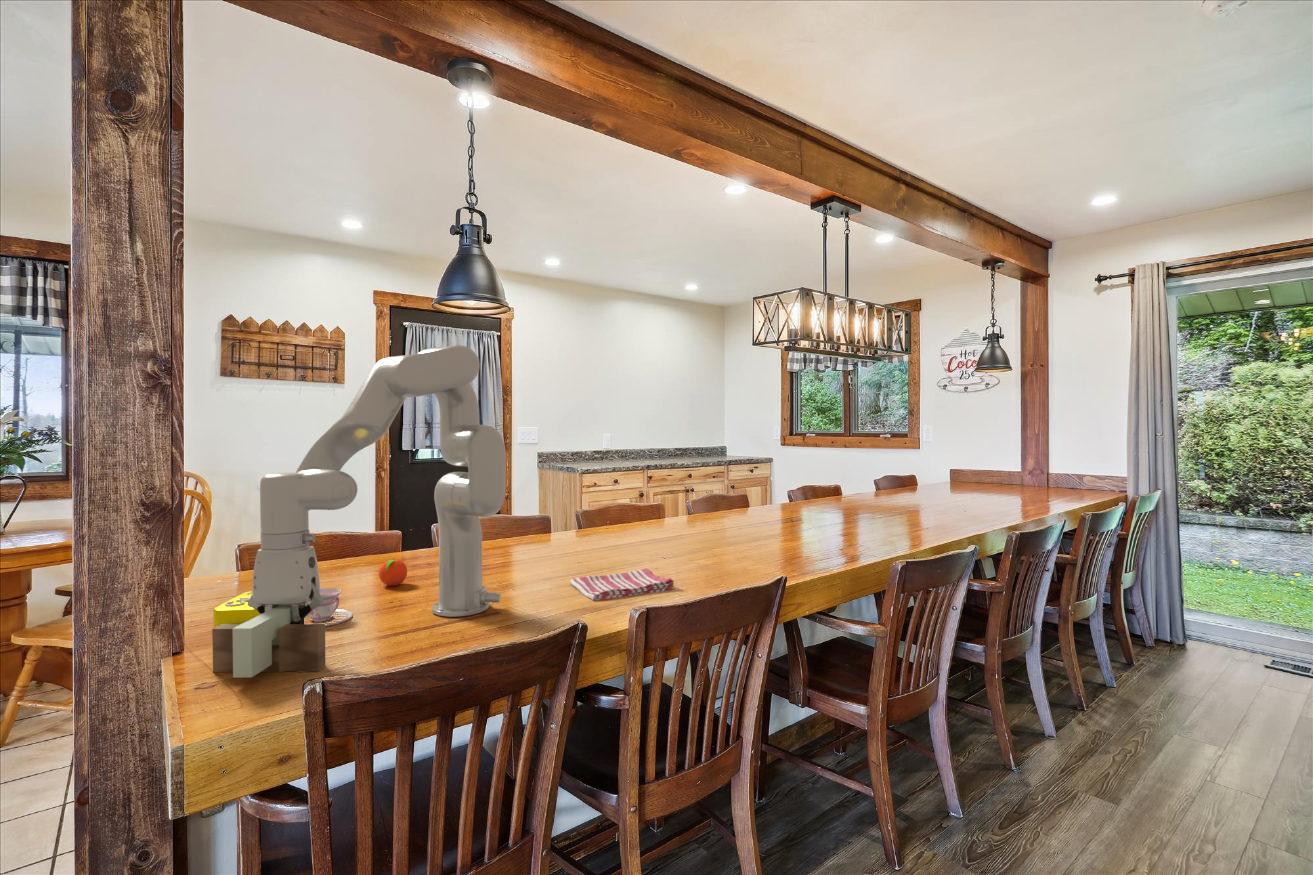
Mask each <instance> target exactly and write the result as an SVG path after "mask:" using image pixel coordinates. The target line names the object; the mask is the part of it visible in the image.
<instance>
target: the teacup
mask: <svg viewBox="0 0 1313 875" xmlns="http://www.w3.org/2000/svg"><path fill="white" fill-rule="evenodd" d="M341 593H342V590H341V589H340V588H335V587H320V595H321V597H322V599H323V601H324V603H323V604H322V605H320V606H319V607H317V608H315V609H313V610H312V611H311V612H310V613H309V614H308V615H307V617H309V618H311V620H312V622H313V621H314V622H313V623H323V621H324V622H327V621H331V616H333V614H335V612H339V613H338V614H345V615H338V616H347V617H333V619H332V620H342V621H333V622H336V623H325V624H327V625H325V627H330V625H331V626H335V625H337V624H343V623H344V622H347V621H348V620H350V619H352V618H353V612H352V611H350V610H346V609H338V607H339V604H340V597H339V596H340V595H341ZM310 603H311V599H309V600H308V602H306V605H308V604H310ZM336 614H337V613H336ZM334 616H335V615H334ZM336 616H337V615H336ZM334 618H345V619H334ZM326 620H327V621H326ZM331 622H332V621H331Z"/></svg>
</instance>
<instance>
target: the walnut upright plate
mask: <svg viewBox="0 0 1313 875" xmlns="http://www.w3.org/2000/svg"><path fill="white" fill-rule="evenodd" d="M239 625H241V624H222V625H220V626H217V627H215V628H214V627H213V628H212V631H211V632H212V634H211V635H212V673H233V628H235V627H237V626H239ZM322 668H323V669H324V668H326V626H325V624H286V625H284V626H283V627H281V628H279V645H272V665H270V666H269V667H267V668H265V669H264V670H262V671H261V672H260V673H281V672H280V671H319V672H320V671H322Z"/></svg>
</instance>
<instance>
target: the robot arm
mask: <svg viewBox="0 0 1313 875" xmlns="http://www.w3.org/2000/svg"><path fill="white" fill-rule="evenodd" d="M479 372H480V358H479V357H478V355H477V354H476V352H475V351H474V350H473V349H472V348H470V347H468V346H465V345H459V344H458V345H457V344H456V345H449V346H448V345H447V346H446V345H445V346H437V347H429V348H426V349H423V350H421V351H419V352H417V353H412V354H405V355H404V354H403V355H396V356H395V355H393V356H388V357H384V358H382V359H379V360H378V361H377V362H376V363H375V364H374V365H373V366H372V368H371V369H370V371H369V372H368V374H367V376H366V378H365V379H364V381H363V382H362V384H361V386H360V388H359V389H358V391H357V392H356V394H355V395H354V396H355V397H353V399H352V401H351V402H350V404H349V405H348V407H347V409H346V410H345V412H344V413H343V415H342V416H341V417H340V418H339V419H338V420H337V421H335V423H334V424H332V425H331V427H329V428H328V429H327V431H325V433H323V434H322V435H321V436H320V437H319V438H318V439H317V440H316V441H315V443H314V444H313V445H312V446H311V448H310V449H309V450H308V451H307V453H306V455H305V457H304V458H303V460H302V461H301V463H300V465H299V466H298V468H297V469H296V471H295V472H276V473H275V472H273V473H268V474H267V473H266V475H263V476H262V477H261V479H260V483H259V500H260V502H259V505H260V506H259V507H260V508H259V509H260V511H259V512H260V513H259V514H260V516H259V518H260V548H259V549H258V550H257V552H256V556H255V559H254V566H253V573H252V588H251V589H252V590H251V591H252V592H253V594H252V596H251V598H250V599H249V601H248V606H249V607H251V608H253V609H255V610H258V612H259V613H260V614H263V613H265V612H267V611H269V610H271V609H273V608H275V607H277V606H279V605H291V608H292V617H293V621H292V622H290V624H304V618H305V617H306V616H307V615H308V614H309V613H310V612H311V611H312V610H313V609H315V608H317V607H319V606H320V605H322V604H323V603H324V601H323V599H322V597H321V595H320V588H321V586H320V584H321V583H320V573H319V572H320V571H319V565H318V559H317V554H316V551H315V547H314V546H313V545H310V544H311V543H315V541H316V539H317V538H316V534H311V533H310V532H311V531H310V529H309V528H310V527H309V512H310V511H313V510H315V511H316V510H318V511H319V510H321V511H322V510H323V511H337V510H341V509H344V508H346V507H347V506H349V505H350V504H352V503H353V502H354V500H355V498H357V494H358V484H357V481H356V480H355V479H354V478H353V476H352V475H350V474H348V473H347V472H344V471H342V468H343V467H344V466H345V464H347V463H348V461H349V460H350V459H351V458H352V457H353V456H354V455H356V454H357V453H358V452H360V451H361V450H363V449H364V448H367V447H369V446H371V445H373V444H375V443H377V442H378V441H379V440H381V439H382V438H383V437H385V435H386V434H387V433H388V430H389V428H390V427H391V425H392V424H393V421H394V420H395V418H396V416H397V414H399V411H400V409H401V408H402V406H403V404H404V403H405V401H406V399H407V398H411V397H412V398H415V397H417V398H418V397H423V396H428V395H435V397H436V400H437V402H438V407H439V425H440V426H439V433H440V434H439V437H440V438H439V444H440V446H439V448H440V455H441V457H442V459H443V460H444V462H446V463H447V464H448V465H449V464H450V465H452V466H456V467H467V468H468V469H467V470H468V471H467V472H466V471H452V472H448V473H446V474H444V475H443V476H442V477H441V478H440V479H438V481H437V482H436V485H435V487H434V491H433V492H434V493H433V498H434V504H435V510H436V516H437V524H438V590H439V591H438V594H439V595H438V601H436V602H435V603H433V605H431V612H432V613H433V614H434V615H436V616H440V617H449V618H451V617H452V618H453V617H456V618H457V617H466V616H472V615H473V616H474V615H477V614H480V613H483V612H485V611H487V610H488V609H489V607H490V603H496V604H497V603H501V600H502V594H501V593H498V592H497V591H496V592H495V591H494V592H493V591H491V592H489V591H487V588H486V586H484V585H483V529H482V524H481V521H480V518H487V517H488V518H489V517H492V516H495V515H496V514H498V513H499V511H500V510H501V509H502V507H503V505H504V502H505V498H506V493H507V492H506V490H507V489H506V487H507V485H506V484H507V480H506V479H507V475H506V474H507V471H506V470H507V469H506V468H507V464H506V463H507V461H506V459H507V456H506V444H505V441H504V439H503V436H502V435H501V433H500V432H499V431H498V430H497V428H495V427H493V426H490V425H487V424H480V414H479V402H478V397H477V394H476V392H475V390H474V388H473V386H472V384H471V382H473V381H474V380H475V379H476V378H477V376H478V374H479ZM309 599H311V603H310V604H308V605H306V602H308V600H309Z"/></svg>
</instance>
